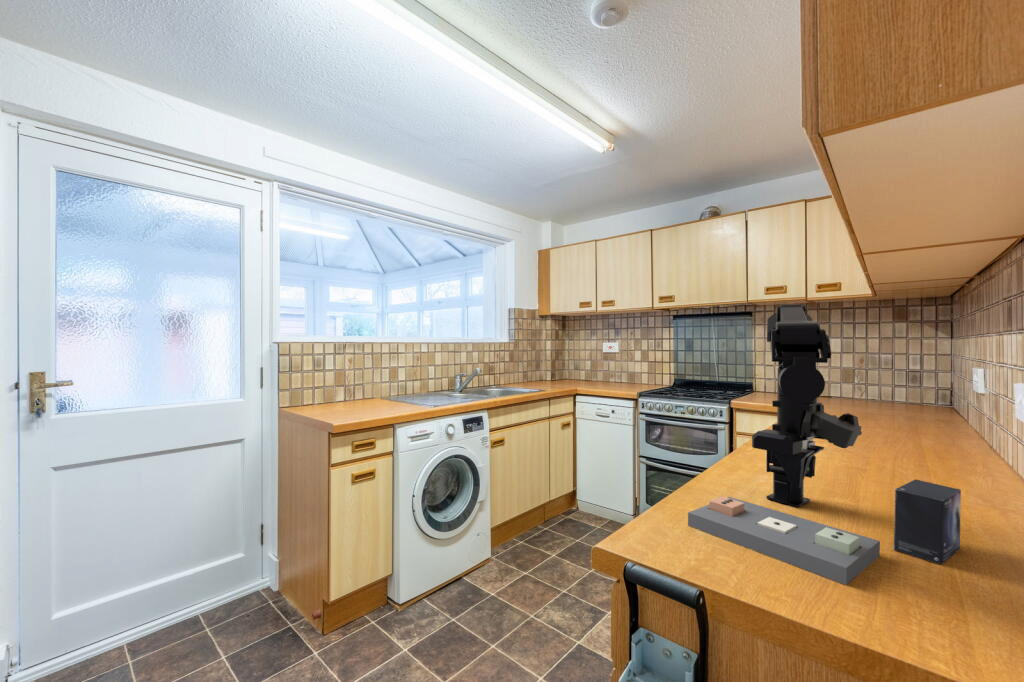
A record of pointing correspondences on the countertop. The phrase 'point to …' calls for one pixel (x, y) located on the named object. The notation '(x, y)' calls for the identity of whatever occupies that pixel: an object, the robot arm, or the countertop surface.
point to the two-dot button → (837, 541)
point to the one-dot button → (777, 525)
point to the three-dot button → (726, 506)
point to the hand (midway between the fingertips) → (796, 487)
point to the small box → (927, 520)
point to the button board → (787, 540)
